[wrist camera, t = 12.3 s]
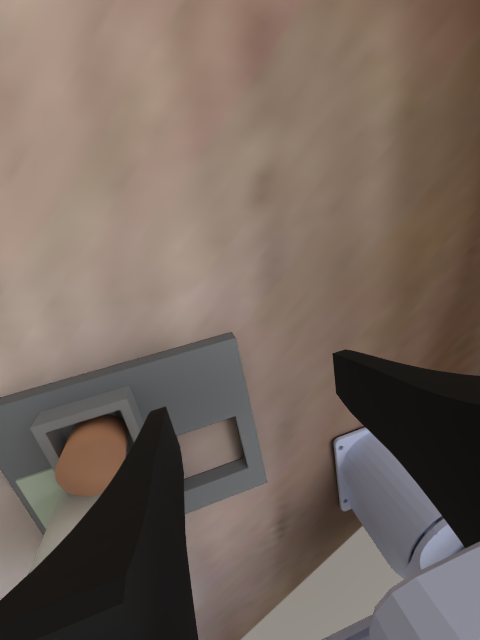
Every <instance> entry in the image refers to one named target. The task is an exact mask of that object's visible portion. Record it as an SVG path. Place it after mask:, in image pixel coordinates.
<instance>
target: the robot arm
mask: <svg viewBox="0 0 480 640" xmlns="http://www.w3.org/2000/svg"><path fill="white" fill-rule="evenodd" d="M333 363H334V374H335V385H336V394H337V395H338V396H339V398H340V399H341V400H342V402H343V403H344V404H345V406H346V407H347V408H348V410H349V411H350V412H351V413H352V414H353V415H354V416H355V417H356V418H357V419H358V420H359V421H360V422H361V423H362V424H363V425H364V426H365V427H364V428H362V429H359V430H356V431H354V432H351V433H348V434H346V435H343V436H340V437H337V438H336V439H335V440H334V443H333V444H334V453H335V463H336V473H337V482H338V492H339V502H340V508H341V509H342V511H347V510H350V509H352V510H353V512H354V513H355V515H356V516H357V518H358V519H359V521H360V522H361V524H362V525H363V527H364V528H365V530H366V531H367V532H368V534H369V535H370V537H371V538H372V540H373V541H374V543H375V544H376V546H377V547H378V549H379V550H380V552H381V553H382V555H383V556H384V558H385V559H386V561H387V562H388V564H389V565H390V566H391V568H392V569H393V570H394V571H395V572H396V573H397V574H398V575H400V576H401V577H402V578H404V580H403V581H401V582H400V583H398V584H397V585H395V586H394V587H392V588H391V589H390V590H389V591H388V592H387V593H386V595H385V596H384V597H383V598H382V599H381V600H380V602H379V603H378V604H377V605H376V607H375V609H374V613H373V615H371V616H369V617H367V618H365V619H363V620H361V621H358V622H356V623H355V624H352V625H350V626H348V627H346V628H344V629H342V630H340V631H338V632H336V633H334V634H332V635H330V636H329V637H326V638H324V639H322V640H480V376H473V375H463V374H455V373H448V372H442V371H435V370H429V369H424V368H419V367H415V366H410V365H406V364H401V363H397V362H393V361H389V360H386V359H382V358H378V357H374V356H371V355H367V354H363V353H359V352H355V351H351V350H342V351H339V352H336V353H333ZM0 640H198V634H197V626H196V619H195V612H194V604H193V597H192V589H191V581H190V573H189V565H188V556H187V548H186V535H185V503H184V471H183V464H182V457H181V451H180V446H179V443H178V440H177V437H176V434H175V431H174V428H173V425H172V422H171V420H170V417H169V414H168V411H167V408H166V406H165V407H162V408H159V409H156V410H153V411H150V413H149V414H148V416H147V418H146V420H145V422H144V424H143V426H142V428H141V430H140V432H139V434H138V436H137V438H136V440H135V442H134V444H133V446H132V447H131V449H130V451H129V453H128V455H127V456H126V458H125V460H124V461H123V463H122V465H121V466H120V468H119V469H118V471H117V473H116V474H115V476H114V477H113V479H112V480H111V482H110V483H109V485H108V486H107V487H106V489H105V490H104V491H103V493H102V494H101V496H100V497H99V498H98V499H97V501H96V502H95V503H94V504H93V506H92V507H91V508H90V509H89V510H88V512H87V513H86V514H85V515H84V516H83V518H82V519H81V520H80V521H79V522H78V524H77V525H76V526H75V527H74V528H73V529H72V530H71V532H70V533H69V534H68V535H67V536H66V537H65V538H64V539H63V540H62V541H61V542H60V543H59V545H58V546H57V547H56V548H55V549H54V550H53V551H52V552H51V553H50V554H49V555H48V556H47V557H46V558H45V559H44V560H43V561H42V562H41V563H40V564H39V565H38V566H37V567H36V568H35V569H34V570H33V571H32V572H30V573H29V574H28V575H27V576H26V577H25V578H24V579H23V580H22V581H21V582H20V583H19V584H18V585H16V586H15V587H14V588H13V589H12V590H11V591H10V592H9V593H8V594H7V595H6V596H5V597H4V598H3V599H1V600H0Z"/></svg>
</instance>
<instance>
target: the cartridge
mask: <svg viewBox="0 0 480 640" xmlns="http://www.w3.org/2000/svg"><path fill="white" fill-rule="evenodd" d="M101 494H102V493H101ZM101 494H98V495H94V496H78V495H74V494H71V495H69V496H68V495H67V493H66V491H65V490H64V489H63V490H62V491H61V493H60V496H59V498H58V501H57V503H56V506H55V508H54V511H53V513H52V516H51V518H50V521H49V524H48V526H47V529H46V531H45V534H44V536H43V539H42V541H41V544H40V547H39V549H38V552H37V554H36V557H35V559H34V562H33V564H32V567H31V569H30V572H32V571H33V570H34V569H35V568H36V567H37V566H38V565H39V564H40V563H41V562H42V561H43V560H44V559H45V558H46V557H47V556H48V555H49V554H50V553H51V552H52V551H53V550H54V549H55V548H56V547H57V546H58V545H59V543H60V542H61V541H62V540H63V539H64V538H65V537H66V536H67V535H68V534H69V533H70V532H71V530H72V529H73V528H74V527H75V526H76V525H77V524H78V522H79V521H80V520H81V519H82V518H83V516H84V515H85V514H86V513H87V512H88V510H89V509H90V508H91V507H92V506H93V504H94V503H95V502H96V501H97V499H98V498H99V497H100V496H101ZM30 572H29V573H30Z"/></svg>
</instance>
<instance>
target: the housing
mask: <svg viewBox="0 0 480 640" xmlns="http://www.w3.org/2000/svg"><path fill="white" fill-rule="evenodd" d="M165 406H166V408H167V411H168V414H169V417H170V420H171V422H172V425H173V428H174V431H175V434H176V436H178V435H181V434H184V433H187V432H190V431H193V430H196V429H199V428H202V427H205V426H207V425H210V424H213V423H216V422H219V421H222V420H225V419H228V418H231V417H235V421H236V425H237V429H238V433H239V437H240V441H241V445H242V449H243V453H244V457H245V458H242V459H239V460H236V461H234V462H231V463H228V464H225V465H223V466H220V467H217V468H214V469H212V470H209V471H206V472H203V473H201V474H198V475H195V476H192V477H190V478H187V479H184V503H185V514H187V513H189V512H192V511H194V510H197V509H200V508H202V507H205V506H207V505H210V504H213V503H215V502H218V501H220V500H223V499H226V498H228V497H231V496H233V495H236V494H239V493H241V492H244V491H246V490H249V489H252V488H254V487H257V486H260V485H262V484H265V483H267V478H266V474H265V469H264V465H263V460H262V455H261V451H260V446H259V442H258V437H257V433H256V428H255V424H254V419H253V415H252V410H251V405H250V401H249V396H248V392H247V387H246V383H245V378H244V374H243V369H242V365H241V360H240V355H239V351H238V346H237V342H236V338H235V336H234V335H233V333H232V332H230V333H226V334H223V335H219V336H216V337H212V338H209V339H205V340H202V341H198V342H195V343H191V344H188V345H184V346H181V347H177V348H174V349H170V350H167V351H163V352H159V353H156V354H152V355H149V356H145V357H142V358H138V359H135V360H131V361H128V362H124V363H121V364H117V365H114V366H110V367H107V368H103V369H100V370H96V371H93V372H89V373H86V374H82V375H79V376H75V377H72V378H68V379H65V380H61V381H57V382H54V383H50V384H47V385H43V386H40V387H36V388H33V389H29V390H26V391H22V392H19V393H15V394H12V395H8V396H5V397H1V398H0V469H1V471H2V472H3V474H4V475H5V477H6V478H7V480H8V481H9V483H10V485H11V486H12V488H13V489H14V491H15V492H16V494H17V495H18V497H19V498H20V500H21V501H22V503H23V505H24V506H25V508H26V509H27V511H28V512H29V514H30V515H31V517H32V518H33V520H34V522H35V523H36V525H37V526H38V528H39V529H40V531H41V532H42V534H43V535H44V534H45V531H46V529H47V526H48V524H49V521H50V518H51V516H52V513H53V511H54V508H55V506H56V503H57V501H58V498H59V496H60V493H61V491H62V490H63V489H62V488H61V487H60V486H59V484H58V483H57V481H56V478H55V469H56V465H57V463H58V461H59V458H60V456H61V454H62V451H63V449H64V447H65V444H66V442H67V440H68V437H69V435H70V433H71V430H72V428H73V427H74V425H75V424H76V423H79V422H82V421H85V420H88V419H92V418H95V417H98V416H101V415H104V414H109V415H113V416H115V417H117V418H119V419H120V420H122V421H123V422H124V424H125V425H126V427H127V429H128V443H127V450H126V456H127V455H128V453H129V451H130V449H131V447H132V446H133V444H134V442H135V440H136V438H137V436H138V434H139V432H140V430H141V428H142V426H143V424H144V422H145V420H146V418H147V416H148V414H149V413H150V411H153V410H156V409H159V408H162V407H165ZM126 456H125V458H126ZM66 493H67V495H68V496H69V495H71V493H68V492H67V491H66Z"/></svg>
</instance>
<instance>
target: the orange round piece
mask: <svg viewBox="0 0 480 640" xmlns="http://www.w3.org/2000/svg"><path fill="white" fill-rule="evenodd" d="M127 443H128V429H127V427H126V425H125V424H124V422H123V421H122V420H120V419H119V418H117V417H115V416H113V415H109V414H104V415H101V416H98V417H95V418H92V419H88V420H85V421H82V422H79V423H76V424H75V425H74V427H73V428H72V430H71V433H70V435H69V437H68V440H67V442H66V444H65V447H64V449H63V451H62V454H61V456H60V458H59V461H58V463H57V465H56V469H55V478H56V481H57V483H58V484H59V486H60V487H61V488H62V489H64V490H65V491H67V492H68V493H71V494H74V495H78V496H94V495H98V494H101V493H103V491H104V490H105V489H106V487H107V486H108V485H109V483H110V482H111V480H112V479H113V477H114V476H115V474H116V473H117V471H118V469H119V468H120V466H121V465H122V463H123V461H124V460H125V456H126V450H127Z"/></svg>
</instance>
